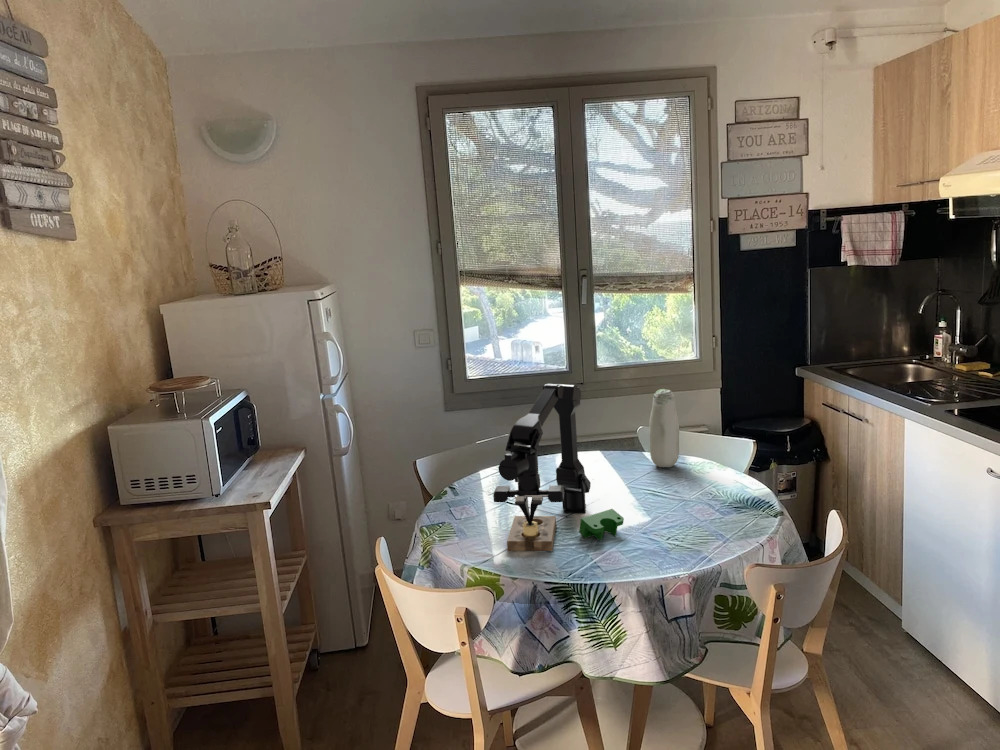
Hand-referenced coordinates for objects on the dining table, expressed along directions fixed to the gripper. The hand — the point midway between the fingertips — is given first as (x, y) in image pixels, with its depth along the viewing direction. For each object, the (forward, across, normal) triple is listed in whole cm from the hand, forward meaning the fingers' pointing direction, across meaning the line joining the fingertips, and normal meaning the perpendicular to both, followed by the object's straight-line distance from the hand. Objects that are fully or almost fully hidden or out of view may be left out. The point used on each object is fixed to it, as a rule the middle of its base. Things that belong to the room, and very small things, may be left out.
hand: (530, 523), depth 201 cm
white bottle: (+6, -41, -66) cm, 78 cm away
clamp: (+6, -19, -6) cm, 21 cm away
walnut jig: (+6, 0, -4) cm, 7 cm away
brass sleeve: (+6, 0, 0) cm, 6 cm away
